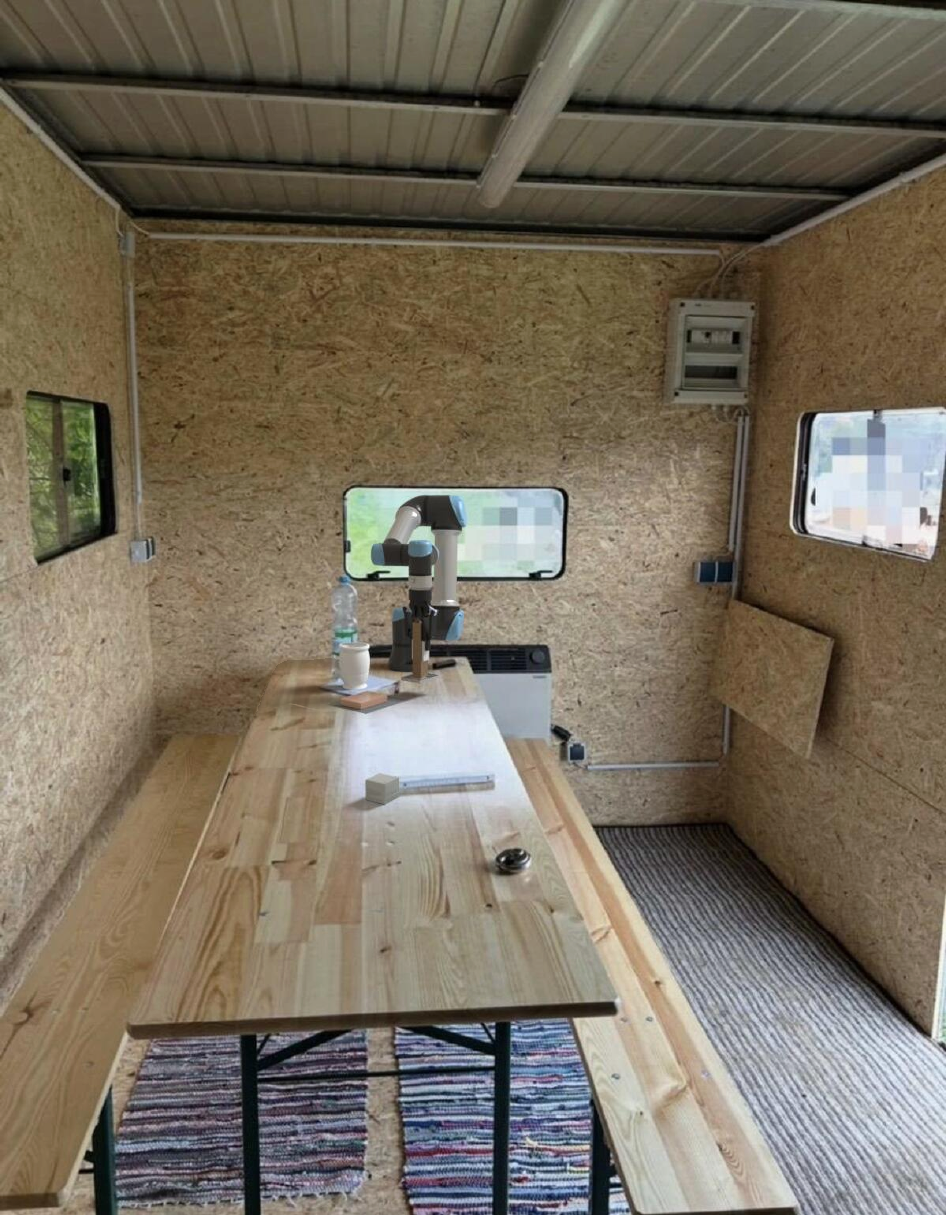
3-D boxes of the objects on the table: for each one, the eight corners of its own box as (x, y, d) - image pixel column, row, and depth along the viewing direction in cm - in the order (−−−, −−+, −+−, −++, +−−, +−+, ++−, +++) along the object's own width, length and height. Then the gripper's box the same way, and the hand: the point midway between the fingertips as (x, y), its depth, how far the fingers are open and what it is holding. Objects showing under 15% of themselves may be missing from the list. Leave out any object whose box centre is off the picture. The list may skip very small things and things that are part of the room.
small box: (400, 797, 198) (399, 776, 197) (385, 805, 193) (384, 784, 192) (379, 792, 201) (379, 772, 200) (364, 800, 196) (364, 779, 195)
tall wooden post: (420, 674, 290) (420, 618, 287) (439, 678, 286) (439, 621, 283) (401, 680, 282) (400, 622, 279) (419, 683, 278) (419, 625, 275)
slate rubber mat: (370, 693, 289) (370, 691, 289) (409, 701, 279) (409, 699, 279) (326, 706, 273) (326, 704, 273) (366, 715, 263) (366, 713, 263)
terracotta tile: (366, 690, 281) (339, 698, 272) (387, 695, 276) (360, 703, 266) (366, 697, 282) (340, 705, 272) (387, 701, 276) (361, 710, 267)
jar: (335, 685, 298) (334, 643, 296) (364, 682, 303) (364, 640, 300) (344, 693, 289) (343, 649, 287) (374, 689, 293) (373, 646, 291)
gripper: (393, 587, 281) (393, 658, 285) (432, 591, 272) (433, 664, 275) (408, 585, 287) (408, 654, 291) (447, 589, 278) (447, 660, 281)
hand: (420, 659), depth 283 cm, fingers closed on tall wooden post, 3 cm apart
